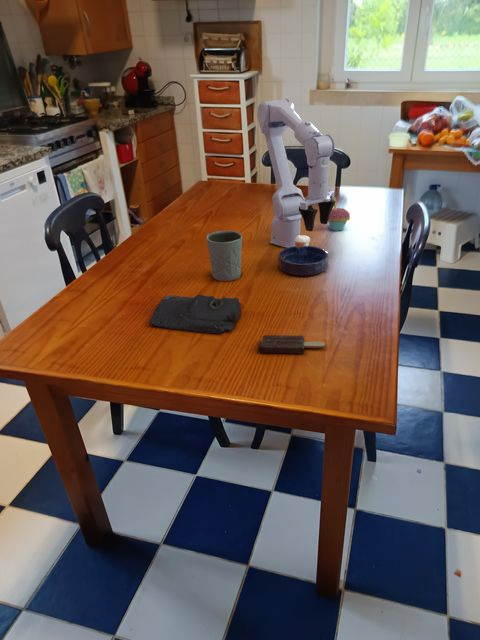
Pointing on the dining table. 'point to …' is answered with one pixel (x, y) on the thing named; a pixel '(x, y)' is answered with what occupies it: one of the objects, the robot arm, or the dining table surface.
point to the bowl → (314, 266)
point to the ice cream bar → (286, 344)
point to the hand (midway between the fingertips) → (316, 227)
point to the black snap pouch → (196, 313)
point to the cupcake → (338, 218)
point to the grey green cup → (225, 254)
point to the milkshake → (302, 249)
